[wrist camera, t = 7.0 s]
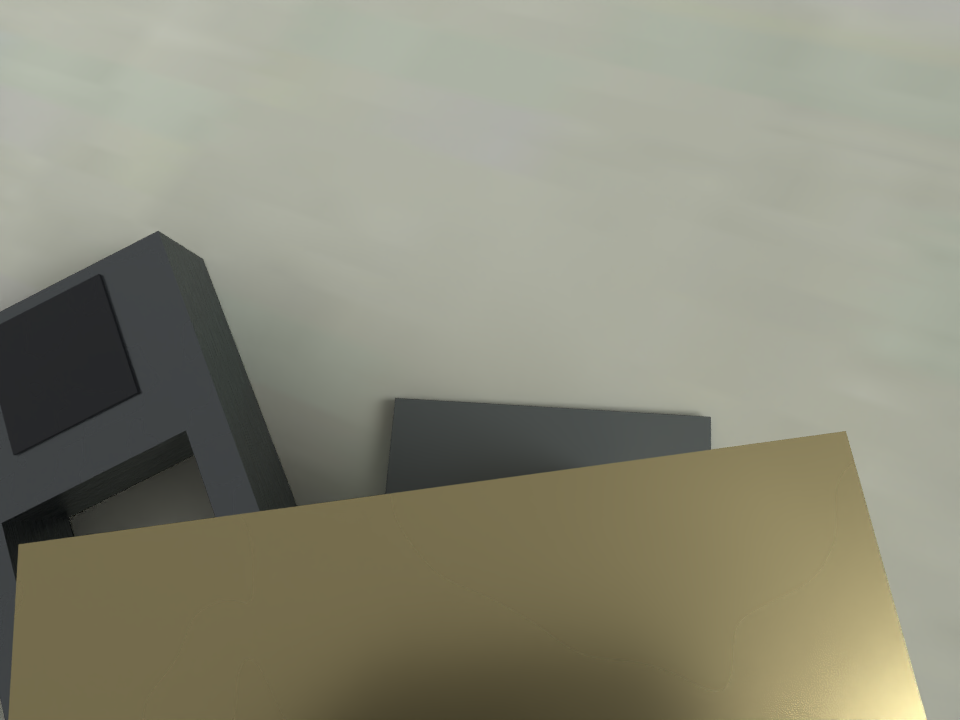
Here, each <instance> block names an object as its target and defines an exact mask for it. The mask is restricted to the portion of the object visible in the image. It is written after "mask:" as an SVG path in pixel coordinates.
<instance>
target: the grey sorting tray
mask: <svg viewBox="0 0 960 720" xmlns="http://www.w3.org/2000/svg"><path fill="white" fill-rule="evenodd" d="M193 455H194V456H195V459H196V461H197V464H198V467H199V470H200V473H201V476H202V479H203V482H204V485H205V488H206V491H207V494H208V497H209V499H210V502H211V505H212V508H213V511H214V514H215V517H222V516H230V515H237V514H244V513H252V512H259V511H266V510H274V509H281V508H288V507H296V506H297V505H296V503H295V500H294V497H293V495H292V492H291V490H290V487H289V484H288V482H287V479H286V476H285V474H284V471H283V469H282V466H281V463H280V461H279V458H278V455H277V453H276V450H275V447H274V445H273V442H272V440H271V437H270V434H269V432H268V429H267V426H266V424H265V421H264V418H263V416H262V413H261V411H260V408H259V405H258V403H257V400H256V397H255V395H254V392H253V390H252V387H251V384H250V382H249V379H248V376H247V374H246V371H245V368H244V366H243V363H242V361H241V358H240V355H239V353H238V350H237V347H236V345H235V342H234V340H233V337H232V334H231V332H230V329H229V326H228V324H227V321H226V318H225V316H224V313H223V311H222V308H221V305H220V303H219V300H218V297H217V295H216V292H215V289H214V287H213V284H212V282H211V279H210V276H209V274H208V271H207V268H206V266H205V263H204V261H203V259H202V258H200V257H199V256H197V255H196V254H194V253H192V252H191V251H189V250H188V249H186V248H185V247H183V246H181V245H180V244H178V243H177V242H175V241H173V240H172V239H170V238H169V237H167V236H165V235H164V234H162V233H161V232H159V231H157V232H155V233H153V234H151V235H149V236H147V237H145V238H143V239H142V240H140V241H138V242H136V243H134V244H132V245H130V246H128V247H126V248H124V249H122V250H120V251H118V252H116V253H114V254H112V255H110V256H108V257H106V258H104V259H102V260H100V261H99V262H97V263H95V264H93V265H91V266H89V267H87V268H85V269H83V270H81V271H79V272H77V273H75V274H73V275H71V276H69V277H67V278H65V279H63V280H61V281H59V282H57V283H56V284H54V285H52V286H50V287H48V288H46V289H44V290H42V291H40V292H38V293H36V294H34V295H32V296H30V297H28V298H26V299H24V300H22V301H20V302H18V303H16V304H14V305H13V306H11V307H9V308H7V309H5V310H3V311H1V312H0V699H1V704H2V708H3V712H4V717H5V720H8V717H9V700H10V683H11V666H12V649H13V632H14V615H15V597H16V580H17V563H18V546H19V544H25V543H32V542H40V541H47V540H54V539H62V538H69V537H74V536H73V533H72V529H71V525H70V522H69V517H71V516H73V515H75V514H77V513H79V512H81V511H83V510H85V509H87V508H89V507H91V506H93V505H95V504H97V503H99V502H101V501H103V500H105V499H107V498H109V497H111V496H113V495H115V494H117V493H119V492H121V491H123V490H125V489H127V488H129V487H131V486H133V485H135V484H137V483H139V482H141V481H143V480H145V479H147V478H149V477H151V476H153V475H155V474H157V473H159V472H161V471H163V470H165V469H167V468H169V467H171V466H173V465H175V464H177V463H179V462H181V461H183V460H185V459H187V458H189V457H191V456H193Z"/></svg>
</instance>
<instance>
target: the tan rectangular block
mask: <svg viewBox="0 0 960 720" xmlns="http://www.w3.org/2000/svg"><path fill="white" fill-rule="evenodd" d="M8 720H927V719H926V715H925V712H924V708H923V704H922V701H921V697H920V694H919V690H918V687H917V683H916V680H915V676H914V672H913V669H912V665H911V662H910V658H909V655H908V651H907V648H906V644H905V640H904V637H903V633H902V630H901V626H900V623H899V619H898V615H897V612H896V608H895V605H894V601H893V598H892V594H891V591H890V587H889V583H888V580H887V576H886V573H885V569H884V566H883V562H882V559H881V555H880V551H879V548H878V544H877V541H876V537H875V534H874V530H873V526H872V523H871V519H870V516H869V512H868V509H867V505H866V502H865V498H864V494H863V491H862V487H861V484H860V480H859V477H858V473H857V469H856V466H855V462H854V459H853V455H852V452H851V448H850V445H849V441H848V437H847V434H846V431H844V432H837V433H829V434H822V435H815V436H807V437H800V438H793V439H785V440H778V441H771V442H763V443H756V444H749V445H742V446H734V447H727V448H720V449H712V450H705V451H698V452H690V453H683V454H676V455H668V456H661V457H654V458H646V459H639V460H632V461H625V462H617V463H610V464H603V465H595V466H588V467H581V468H573V469H566V470H559V471H551V472H544V473H537V474H530V475H522V476H515V477H508V478H500V479H493V480H486V481H478V482H471V483H464V484H456V485H449V486H442V487H434V488H427V489H420V490H413V491H405V492H398V493H391V494H383V495H376V496H369V497H361V498H354V499H347V500H339V501H332V502H325V503H317V504H310V505H303V506H296V507H288V508H281V509H274V510H266V511H259V512H252V513H244V514H237V515H230V516H222V517H215V518H208V519H200V520H193V521H186V522H179V523H171V524H164V525H157V526H149V527H142V528H135V529H127V530H120V531H113V532H105V533H98V534H91V535H83V536H76V537H69V538H62V539H54V540H47V541H40V542H32V543H25V544H19V546H18V563H17V580H16V597H15V615H14V632H13V649H12V666H11V683H10V700H9V717H8Z"/></svg>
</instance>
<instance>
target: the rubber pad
mask: <svg viewBox="0 0 960 720" xmlns="http://www.w3.org/2000/svg"><path fill="white" fill-rule="evenodd" d="M705 450H711V417H704V416H687V415H670V414H654V413H637V412H620V411H603V410H587V409H570V408H553V407H537V406H520V405H503V404H487V403H470V402H453V401H437V400H420V399H403V398H395V408H394V418H393V427H392V437H391V446H390V456H389V465H388V475H387V484H386V494H391V493H398V492H405V491H413V490H420V489H427V488H434V487H442V486H449V485H456V484H464V483H471V482H478V481H486V480H493V479H500V478H508V477H515V476H522V475H530V474H537V473H544V472H551V471H559V470H566V469H573V468H581V467H588V466H595V465H603V464H610V463H617V462H625V461H632V460H639V459H646V458H654V457H661V456H668V455H676V454H683V453H690V452H698V451H705Z"/></svg>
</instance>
